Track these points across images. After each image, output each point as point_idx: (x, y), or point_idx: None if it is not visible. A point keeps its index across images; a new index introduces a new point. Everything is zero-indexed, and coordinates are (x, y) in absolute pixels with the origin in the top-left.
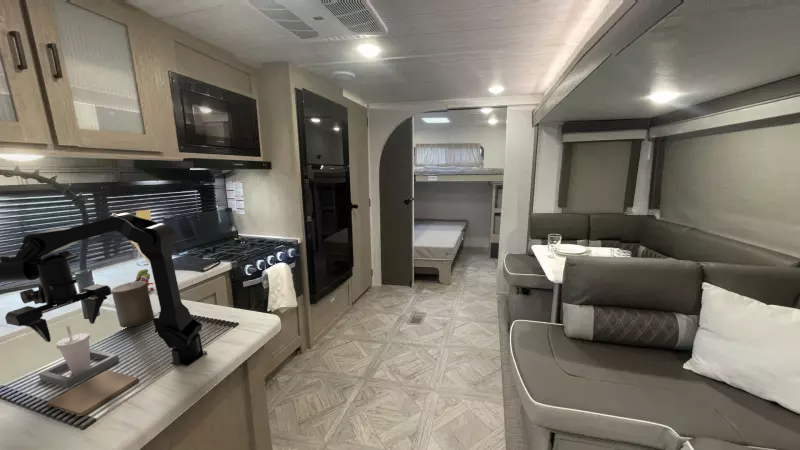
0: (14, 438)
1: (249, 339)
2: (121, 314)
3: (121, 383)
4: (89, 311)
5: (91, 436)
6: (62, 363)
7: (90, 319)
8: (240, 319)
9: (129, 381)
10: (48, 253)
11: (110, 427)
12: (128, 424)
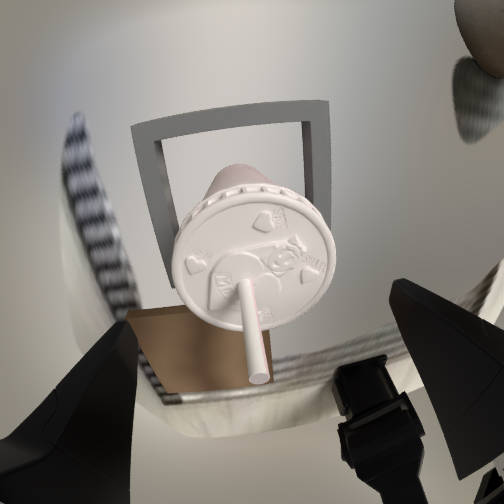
0: (85, 349)
1: (413, 386)
2: (499, 22)
3: (247, 376)
4: (452, 362)
5: (168, 417)
6: (209, 121)
7: (407, 318)
8: (483, 317)
9: None
10: None
11: (189, 421)
12: (205, 428)
